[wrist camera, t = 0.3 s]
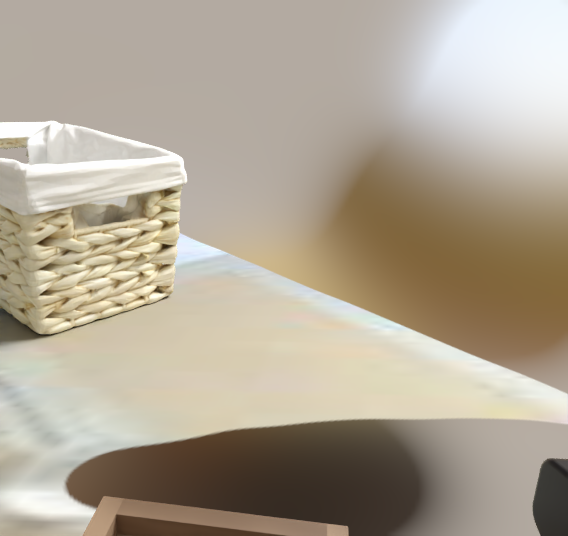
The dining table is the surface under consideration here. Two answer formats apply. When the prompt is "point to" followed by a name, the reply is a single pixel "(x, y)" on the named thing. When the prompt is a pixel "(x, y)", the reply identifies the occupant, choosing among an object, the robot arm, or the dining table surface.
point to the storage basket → (84, 224)
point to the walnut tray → (194, 522)
